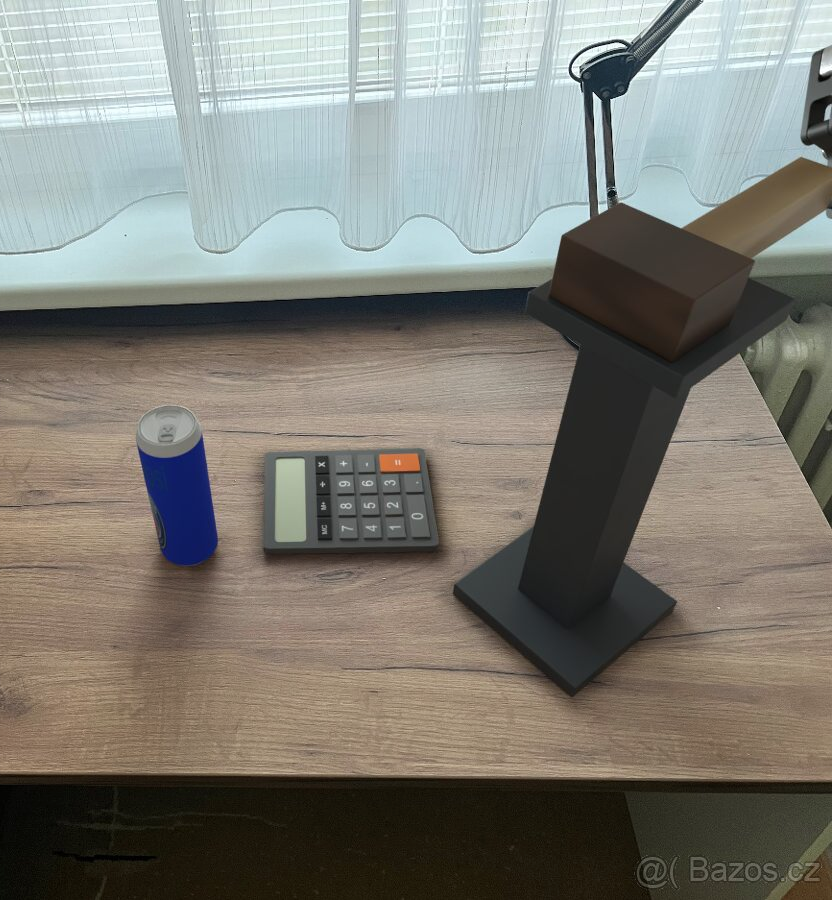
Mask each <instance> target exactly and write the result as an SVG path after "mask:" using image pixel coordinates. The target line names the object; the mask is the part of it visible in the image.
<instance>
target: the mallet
mask: <svg viewBox="0 0 832 900" xmlns="http://www.w3.org/2000/svg"><path fill="white" fill-rule="evenodd" d="M831 197H832V167H829V166H827V164H824V163H820V162H817V161H814V160H812V159H809V158H806V157H803V156H799V157H798V158H796V159H794V160H793V161H790V162H789V163H788V164H786V165H784V166H783V167H781V168H779V169H778V170H776V171H774V172H773V173H771V174H769V175H767V176H766V177H764V178H762V179H761V180H759V181H758V182H756V183H754V184H753V185H751V186H749V187H747V188H746V189H744V190H743V191H741V192H739V193H738V194H735V195H734V196H732V197H730V198H729V199H728V200H726V201H724V202H723V203H721V204H719V205H718V206H715V207H714V208H712V209H711V210H709V211H707V212H706V213H704V214H702V215H701V216H699V217H698V218H696V219H694V220H693V221H691V222H689V223H687V224H686V225H683V227H679V226H677V225H674V224H673V223H670V222H668V221H665V220H664V219H660V218H658V217H656V216H654V215H651V214H649V213H647V212H645V211H642V210H640V209H638V208H636V207H634V206H631V205H628V204H626V203H624V202H622V201H621V202H618V203H617V204H615V205H613V206H611V207H609V208H607V209H606V210H603V211H602V212H600V213H598V214H597V215H595V216H593V217H591V218H590V219H588V220H586V221H584V222H582V223H581V224H579V225H577V226H575V227H574V228H571V229H569V230H568V231H566V232H564V233H563V234H561V235H560V241H559V246H558V250H557V255H556V259H555V263H554V268H553V273H552V274H553V275H552V277H551V279H552V282H551V287H550V292H549V296H550V297H552V298H554V299H556V300H557V301H559V302H561V303H563V304H565V305H567V306H568V307H570V308H572V309H574V310H576V311H578V312H579V313H581V314H583V315H585V316H587V317H589V318H591V319H592V320H594V321H596V322H598V323H600V324H602V325H603V326H605V327H607V328H609V329H611V330H613V331H615V332H616V333H618V334H620V335H622V336H624V337H626V338H627V339H629V340H631V341H633V342H635V343H637V344H638V345H640V346H642V347H644V348H646V349H648V350H650V351H651V352H653V353H655V354H657V355H659V356H661V357H662V358H664V359H666V360H668V361H670V362H672V363H673V362H675V361H676V360H678V359H679V358H681V357H682V356H683V355H685V354H686V353H688V352H689V351H691V350H692V349H694V348H695V347H697V346H698V345H700V344H701V343H702V342H704V341H705V340H707V339H708V338H710V337H711V336H713V335H714V334H716V333H717V332H718V331H720V330H721V329H723V328H724V327H726V326H727V325H729V324H730V322H731V320H732V317H733V315H734V313H735V310H736V308H737V305H738V303H739V300H740V298H741V295H742V293H743V290H744V288H745V285H746V283H747V280H748V278H750V275H751V272H752V271H753V268H754V265H755V263H756V260H755V259H753V258H755V257H756V256H758V255H759V254H761V253H762V252H764V251H766V250H767V249H768V248H770V247H771V246H773V245H775V244H776V243H778V242H779V241H781V240H782V239H784V238H785V237H787V236H789V235H790V234H792V233H793V232H795V231H796V230H797V229H799V228H801V227H803V226H804V225H805V224H807V223H808V222H810V221H811V220H813V219H815V218H816V217H817V216H820V215H821V214H822V213H824V212H826V209H827V206H828V204H829V202H830V200H831Z"/></svg>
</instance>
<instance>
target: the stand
mask: <svg viewBox="0 0 832 900" xmlns="http://www.w3.org/2000/svg"><path fill="white" fill-rule="evenodd" d="M551 282H552V278H551V279H549V280H547V281H546V282H544V283H542V284H541V285H539V286H537V287H535V288H533V289H531V290H530V291H528V293H527V299H526V304H525V308H524V314H526V315H527V316H529V317H531V318H533V319H535V320H536V321H538V322H540V323H541V324H543V325H545V326H547V327H549V328H550V329H552V330H554V331H556V332H557V333H559V334H561V335H562V336H564V337H566V338H567V339H570V340H572V341H573V342H575V343H576V344H579V348H578V352H577V357H576V360H575V363H574V367H573V372H572V376H571V379H570V383H569V388H568V391H567V395H566V399H565V403H564V407H563V411H562V413H561V414H562V415H561V418H560V423H559V427H558V430H557V434H556V437H555V441H554V445H553V449H552V453H551V456H550V457H551V458H550V461H549V465H548V469H547V472H546V476H545V480H544V484H543V489H542V492H541V495H540V500H539V505H538V508H537V513H536V516H535V520H534V523H533V526H531V527H530V528H529V529H528V530H526V531H525V532H523V533H522V534H521V535H519V536H518V537H517V538H515V539H513V540H512V541H511V542H510V543H508V544H507V545H505V546H504V547H503V548H502V549H500V550H499V551H497V552H496V553H494V554H493V555H492V556H490V557H489V558H488V559H486V560H485V561H483V562H482V563H481V564H479V565H478V566H476V567H475V568H474V569H472V570H471V571H470V572H469V573H467V574H466V575H464V576H462V577H461V578H459V580H457V581H456V582H454V584H453V589H452V595H453V596H454V597H455V598H456V599H457V600H458V601H460V602H461V603H462V604H463V605H464V606H465V607H467V608H468V609H469V610H470V611H471V612H472V613H474V614H475V616H477V617H478V618H479V619H481V620H482V621H483V622H484V623H485V624H486V625H487V626H488V627H489V628H490V629H492V631H494V632H495V633H496V634H498V635H499V636H500V637H501V638H502V639H503V640H505V641H506V642H507V643H508V644H509V645H510V646H511V647H513V648H514V649H515V650H516V651H517V652H518V653H520V655H522V656H523V657H524V658H525V659H526V660H527V661H528V662H530V663H531V664H532V665H533V666H534V667H535V668H537V669H538V670H539V671H540V672H541V673H543V675H545V676H546V677H547V678H548V679H549V680H550V681H552V682H553V683H554V684H555V685H556V686H557V687H558V688H559V689H561V691H563V692H564V693H565V694H566V695H568V696H569V697H570V698H571V699H572V698H574V697H575V696H576V695H577V694H579V693H580V692H581V691H582V690H583V689H585V687H587V686H588V685H589V684H590V683H592V682H593V681H594V680H595V679H596V678H597V677H598V676H599V675H601V674H602V673H604V671H605V670H607V669H608V668H609V667H610V666H612V665H613V664H614V663H615V662H616V661H617V660H618V659H620V657H622V656H623V655H624V654H625V653H627V652H628V651H629V650H630V649H631V648H632V647H633V646H635V645H636V644H637V643H638V642H639V641H640V640H642V639H643V638H645V636H647V635H648V634H649V633H650V632H651V631H653V630H654V629H655V628H656V627H657V626H658V625H659V624H660V623H662V622H663V621H664V620H665V619H666V618H667V617H669V616H670V615H671V614H672V613H673V612H674V610H675V608H676V607H677V604H678V601H677V600H676V599H675V598H673V597H672V596H671V595H669V593H667V592H665V591H664V590H663V589H661V588H660V587H658V585H655V584H654V583H653V582H651V581H650V580H649V579H647V578H646V577H644V576H643V575H641V574H640V573H639V572H638V571H636V570H635V569H634V568H632V567H631V566H629V565H628V564H627V563H625V560H626V556H627V554H628V552H629V549H630V546H631V544H632V541H633V539H634V537H635V533H636V531H637V529H638V525H639V523H640V521H641V518H642V515H643V512H644V510H645V508H646V506H647V502H648V500H649V497H650V495H651V492H652V490H653V488H654V484H655V482H656V481H657V477H658V474H659V472H660V469H661V466H662V464H663V462H664V459H665V456H666V455H667V451H668V449H669V447H670V443H671V441H672V439H673V435H674V434H675V431H676V428H677V426H678V423H679V420H680V418H681V415H682V413H683V410H684V408H685V405H686V402H687V400H688V397H689V394H690V392H691V389H692V388H693V387H694V386H695V385H697V384H699V383H700V382H701V381H703V380H704V379H706V378H707V377H708V376H710V375H711V374H713V373H714V372H716V370H719V369H720V368H721V367H722V366H724V365H725V364H726V363H728V362H729V361H731V360H732V359H734V358H735V357H736V356H739V354H741V353H742V352H743V351H745V350H746V349H748V348H749V347H751V346H752V345H754V344H755V343H757V342H758V341H759V340H760V339H762V338H763V337H765V336H766V335H767V334H769V333H770V332H772V331H774V329H776V328H777V327H779V326H780V325H782V324H783V323H784V322H786V321H787V319H788V317H789V315H790V313H791V311H792V308H793V306H794V304H795V302H796V298H795V297H793V296H790V295H788V294H786V293H784V292H781V291H780V290H777V289H775V288H773V287H770V286H768V285H766V284H764V283H762V282H759V281H757V280H755V279H752V278H750V277H749V278H748V280H747V283H746V285H745V288H744V290H743V293H742V295H741V298H740V300H739V303H738V305H737V308H736V310H735V313H734V315H733V317H732V320H731V322H730V324H729V325H727V326H726V327H724V328H723V329H721V330H720V331H718V332H717V333H716V334H714V335H713V336H711V337H710V338H708V339H707V340H705V341H704V342H702V343H701V344H700V345H698V346H697V347H695V348H694V349H692V350H691V351H689V352H688V353H686V354H685V355H683V356H682V357H681V358H679V359H678V360H676V361H675V362H673V363H672V362H670V361H668V360H666V359H664V358H662V357H661V356H659V355H657V354H655V353H653V352H651V351H650V350H648V349H646V348H644V347H642V346H640V345H638V344H637V343H635V342H633V341H631V340H629V339H627V338H626V337H624V336H622V335H620V334H618V333H616V332H615V331H613V330H611V329H609V328H607V327H605V326H603V325H602V324H600V323H598V322H596V321H594V320H592V319H591V318H589V317H587V316H585V315H583V314H581V313H579V312H578V311H576V310H574V309H572V308H570V307H568V306H567V305H565V304H563V303H561V302H559V301H557V300H556V299H554V298H552V297H550V296H549V292H550V287H551Z"/></svg>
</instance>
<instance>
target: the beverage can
mask: <svg viewBox="0 0 832 900" xmlns="http://www.w3.org/2000/svg"><path fill="white" fill-rule="evenodd" d="M136 425H137V426H136V433H135V443H136V447H137V451H138V456H139V457H138V458H139V460H140V465H141V468H142V469H141V470H142V473H143V478H144V483H145V488H146V492H147V496H148V500H149V505H150V510H151V513H152V518H153V522H154V527H155V532H156V537H157V541H158V545H159V549H160V552H161V555H162V556H163V557H164V558H165V559H166V560H167V561H168V562H170V563H172V564H175V565H178V566H181V567H195V566H197V565H200V564H202V563H204V562H205V561H207V560H208V559H209V558H211V556H213V554H215V551H216V550H217V548H218V543H219V536H218V530H217V522H216V516H215V510H214V509H215V508H214V502H213V496H212V488H211V483H210V482H211V481H210V476H209V469H208V462H207V455H206V448H205V442H204V435H203V428H202V425H201V423H200V421H199V419H198V418H197V417H196V415H195V413H194V412H193V411H192V410H190V408H187V407H184V406H182V405H179V404H165V405H160V406H156V407H154V408H151V409H149V410H148V411H147V412H145V413H144V414H143V415H142V416H141V417H140V419H139V420H138V422H137V424H136Z"/></svg>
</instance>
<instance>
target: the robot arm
mask: <svg viewBox="0 0 832 900" xmlns="http://www.w3.org/2000/svg"><path fill="white" fill-rule="evenodd" d="M808 73H809V75H808V82H807V87H806V94H805V101H804V107H803V115H802V121H801V128H800V135H799V136H800V141H801V143H802V144H803V145H804V146H807V147H810V146H813V145H814V146H816V147H817V148H819V149H821V154H822V157H823V158H824V159H825V160H826V161H827V164H826V166H829V167H832V44H830V45H828V46H825V47H823V48H821V49H818V50H816V51H814V52H813V54H812V55H811V59H810V67H809V72H808ZM829 106H830V114H829V118H828V119H826V118H825V117H826V113H827V112H826V111H827V109H828V107H829ZM825 215H826V218H828V219H829V220H830V219H831V220H832V197H831V200H830V202H829V204H828V206H827V209H826V210H825Z"/></svg>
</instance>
